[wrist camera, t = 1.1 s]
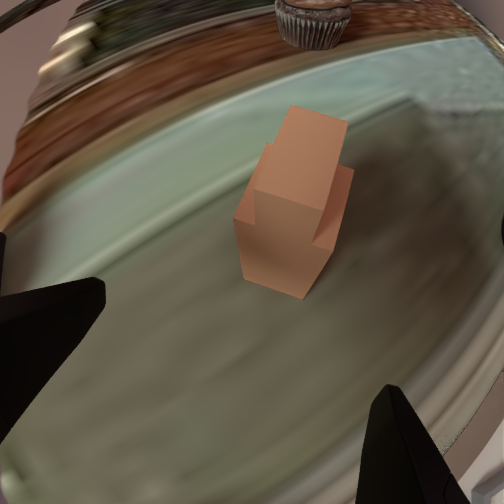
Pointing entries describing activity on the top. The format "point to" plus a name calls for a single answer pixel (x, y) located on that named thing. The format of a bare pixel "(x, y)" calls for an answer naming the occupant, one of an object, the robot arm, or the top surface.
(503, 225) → the pen holder
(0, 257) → the ammunition clip
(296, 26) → the cupcake
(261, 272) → the post
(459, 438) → the tray
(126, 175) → the top surface
